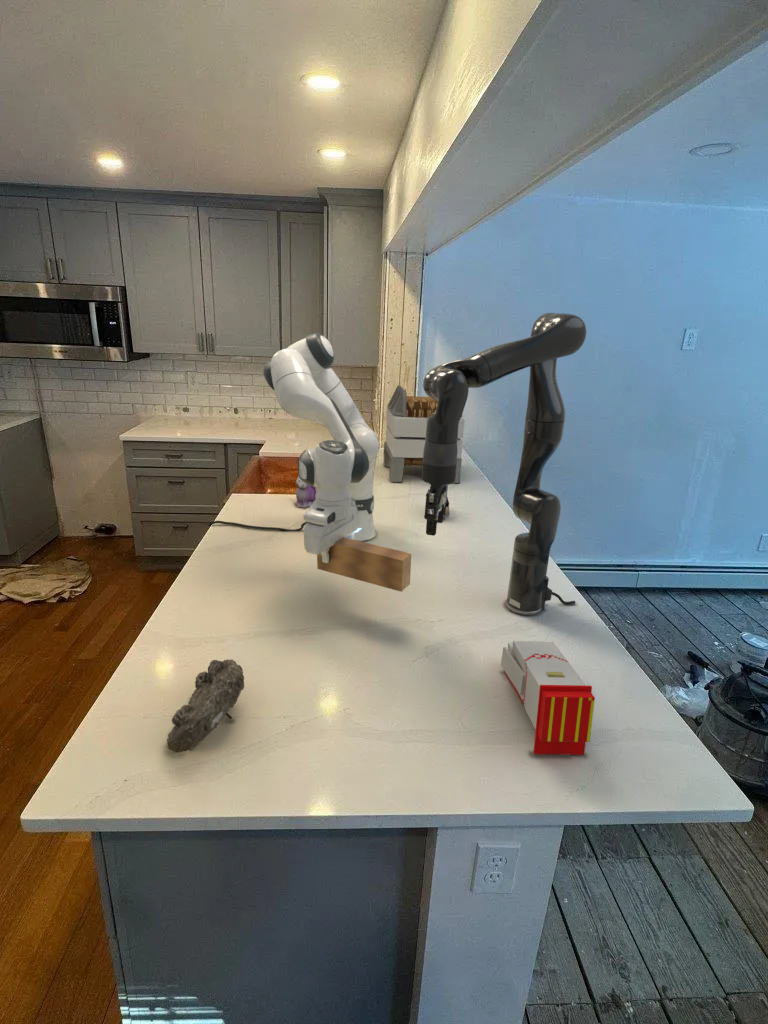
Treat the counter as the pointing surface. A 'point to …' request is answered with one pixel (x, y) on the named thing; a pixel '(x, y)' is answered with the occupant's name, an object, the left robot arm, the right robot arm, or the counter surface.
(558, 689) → the toy
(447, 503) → the figurine character
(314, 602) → the counter surface
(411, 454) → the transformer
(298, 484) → the figurine
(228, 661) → the fossil
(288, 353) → the left robot arm
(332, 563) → the bar
